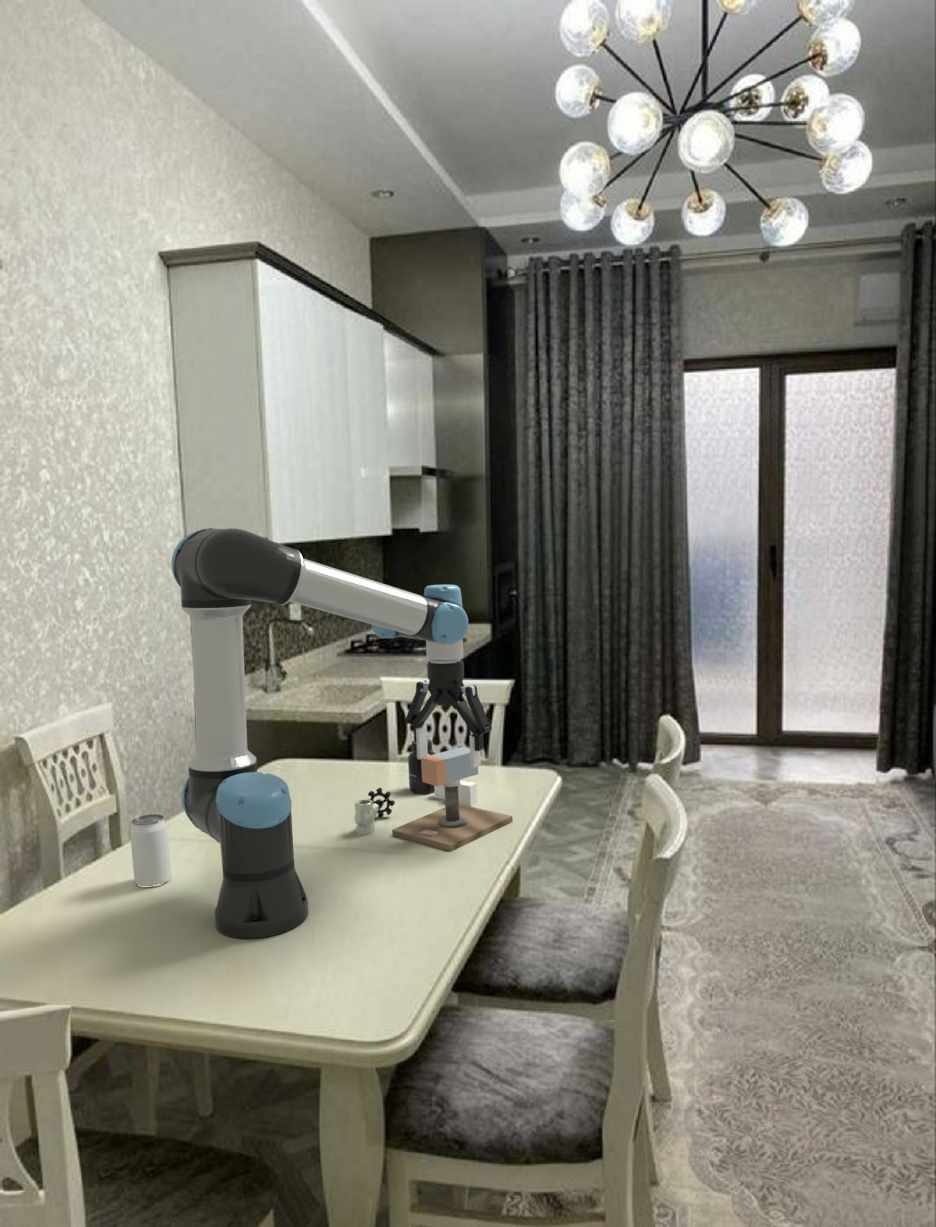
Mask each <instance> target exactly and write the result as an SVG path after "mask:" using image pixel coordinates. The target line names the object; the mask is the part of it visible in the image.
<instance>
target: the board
mask: <svg viewBox="0 0 936 1227" xmlns="http://www.w3.org/2000/svg"><path fill="white" fill-rule="evenodd" d="M444 803H445V805H444V806H445V807H443V808H441V809H438V810H435V811H433V812H431V813H429V814H426V815H424V816H421V817H420V818H417V819H414V820H411V821H409V822H407V823H405V824H403V825H399V826H397V827H395V828H393V829H391V833H392V834H391V835H392V836H394V837H396V838H401V839H405V840H408V841H412V842H416V843H419V844H423V845H427V846H430V847H434V848H438V849H442V850H446V851H449V852H452V851H455V850H457V849H459V848H460V847H463V846H466V845H467V844H469V843H471V842H473V841H475V840H477V839H479V838H481V837H484V836H486V835H487V834H490V833H492V832H495V830H497V829H498V830H499V829H500V828H502V827H504V826H507V825H509V824H511V823H513V821H514V820H513V815H509V814H505V813H501V812H496V811H492V810H488V809H487V810H486V809H482V808H478V807H474V806H472V807H470V806H466V805H461V804H459V797H458V786H455V787H445V800H444Z"/></svg>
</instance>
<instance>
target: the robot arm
mask: <svg viewBox="0 0 936 1227" xmlns="http://www.w3.org/2000/svg"><path fill="white" fill-rule="evenodd" d="M170 566H171V572H172V576H173V578H174V580H175V582H176V583H177V585H178V586H179V587H180V597H181V598H180V601H181V602H180V603H181V604H180V605H181V609H182V610H183V611H184V612H185V613H186V614H187V615H188V616H189V617H190V620H191V642H192V645H191V646H192V665H193V666H192V667H193V669H192V670H193V688H194V689H193V690H194V692H193V693H194V710H195V713H194V714H195V735H196V754H195V755H194V756H193V757H192V759H191V760H189V762H188V778H187V779H186V781H185V782H184V786H183V788H182V793H181V803H182V809H183V811H184V812H185V815H186V817H187V818H188V820H189V821H190V822H191V823H192V825H193V826H194V827H196V828H197V829H198V830H199V831H201V832H202V833H204V834H206V835H208V836H209V837H211V838H212V839H214V840H215V841H216V842H217V843H219V845H220V855H221V865H222V866H221V868H222V869H221V870H222V882H221V885H220V890H219V894H218V899H217V904H216V906H215V910H214V917H215V918H214V919H215V920H214V922H215V923H214V924H215V927H216V930H217V931H218V932H219V933H221V934H222V935H225V936H228V937H230V938H231V937H232V938H237V939H258V938H266V937H270V936H271V937H272V936H276V935H279V934H282V933H285V932H287V931H290V930H293V929H294V928H297V927H298V926H299V925H301V924H302V923H303V922H305V920H306V919H307V917H308V916H309V902H308V901H309V900H308V896H307V894H306V892H305V889H304V887H303V885H302V882H301V879H300V877H299V875H298V872H297V870H296V867H295V854H294V853H295V852H294V837H293V835H294V834H293V821H292V820H293V817H292V806H293V805H292V798H291V795H290V790H289V786H288V784H287V782H286V781H285V780H284V779H282V778H281V777H280V776H278V775H275V774H271V773H263V772H260V771H259V772H258V763H257V757H256V756H255V755H254V754H253V753H252V752H251V751H249V749H248V736H247V735H248V733H247V732H248V730H247V706H246V704H247V703H246V684H245V683H246V680H245V678H246V677H245V650H244V646H245V645H244V629H243V628H244V624H243V623H244V622H243V620H244V619H243V616H244V614H245V613H246V612H247V611H248V610H249V609H250V608H251V606H252V603H251V602H252V601H259V602H260V601H261V602H266V603H271V604H275V605H279V606H285V605H287V604H288V603H294V604H297V605H301V606H304V607H307V608H311V609H315V610H319V611H322V612H326V613H330V614H333V615H336V616H340V617H344V618H348V619H350V620H353V621H354V620H355V621H359V622H362V623H364V624H369V625H371V628H372V630H373V632H374V633H375V636H377V637H378V638H379V639H391V640H393V639H395V638H407V639H411V640H412V639H413V640H419V641H420V640H421V641H426V645H425V648H426V650H425V651H426V659H427V660H428V661H427V664H426V672H427V673H426V674H427V679H428V681H427V680H426V679H425V680H420V681H418V682H416V683H415V693H414V696H413V698H412V701H411V703H410V706H409V708H408V712H407V714H406V716H405V721H404V722H405V723H406V724H407V725H411V726H412V728H413V741H415V742H417V759H421V757H425V756H428V748H427V739H428V726H427V725H426V724H425V723H426V721H427V720H428V719H429V717H430V716H431V714H432V713H433V711H434V710H435V709H436V707H437V706H446V707H452V708H453V709H454V710H456V711H457V713H458V714H459V716H460V717H461V718H462V720H463V721H464V723H465V725H466V726H467V728H468V729H469V730H470V732H471V733H472V734H470V735H469V736H468V737H469V749H470V767H472V768H474V767H476V766H478V767H479V766H481V765H482V758H481V756H482V755H481V754H482V753H481V752H482V751H483V750H484V735H485V734H486V733H489V732H491V731H492V726H491V724H490V720H489V718H488V716H487V713H486V711H485V709H484V707H483V704H482V702H481V700H480V698H479V694H478V687H477V685H475V684H472V685H469V686H465V685H464V677H465V663H464V661H463V660H462V659H463V658H464V637H466V634H467V632H468V627H469V618H468V615H467V613H466V611H465V610H464V607H463V600H462V599H463V598H462V592H461V591H462V590H461V587H459V586H458V585H457V584H456V585H455V584H433V585H432V584H431V585H427V586H426V587H425V588H424V591H423V592H424V593H423V596H422V595H420V594H417V593H413V592H411V591H408V590H404V589H401V588H398V587H394V586H392V585H389V584H385V583H382V582H379V581H376V580H373V579H370V578H366V577H363V576H360V575H357V574H354V573H350V572H348V571H347V572H346V571H345V570H341V569H339V568H338V569H337V568H334V567H331V566H328V565H325V564H322V563H319V562H317V561H313V560H311V559H307V558H303V555H302V553H301V552H300V551H299V550H298V549H296V548H292V547H289V546H287V545H283V544H281V543H278V542H276V541H273V540H270V539H268V538H266V537H263V536H260V535H258V534H256V533H253V532H251V531H248V530H246V529H240V528H232V527H230V528H212V527H208V528H201V529H200V530H196V531H194V532H191V533H189V534H188V535H185V537H184V538H182V539H181V541H179V542H178V544H176V547H175V548H174V551H173V554H172V558H171V565H170ZM428 692H429V694H430V696H429V697H428V699H427V700H426V697H427V694H428ZM463 695H464V696H463ZM465 698H466V699H465ZM424 701H425V702H426V703H425V704H424ZM423 704H424V706H423ZM422 707H423V708H422Z"/></svg>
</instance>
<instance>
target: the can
mask: <svg viewBox="0 0 936 1227" xmlns="http://www.w3.org/2000/svg"><path fill="white" fill-rule="evenodd" d="M164 818H165V817H164V815H162V814H158V813H154V814H145V815H141V816H137V817H135V818H133V819H132V820H131V827H130V830H129V833H130V835H129V836H130V846H131V858H132V867H133V868H132V870H133V880H134V884H135V885H136V884H137V885H140V886H153V885H157V884H162V883H165V882H167V881H168V880H169V879H170V880H171V878H172V869H171V868H172V867H171V860H170V859H171V857H170V845H169V835H168V834H169V833H168V826H167V822H166V821H165V819H164ZM170 880H169V881H170ZM169 881H168V882H169ZM168 882H167V883H168ZM165 884H166V883H165ZM137 885H136V886H137Z"/></svg>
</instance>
